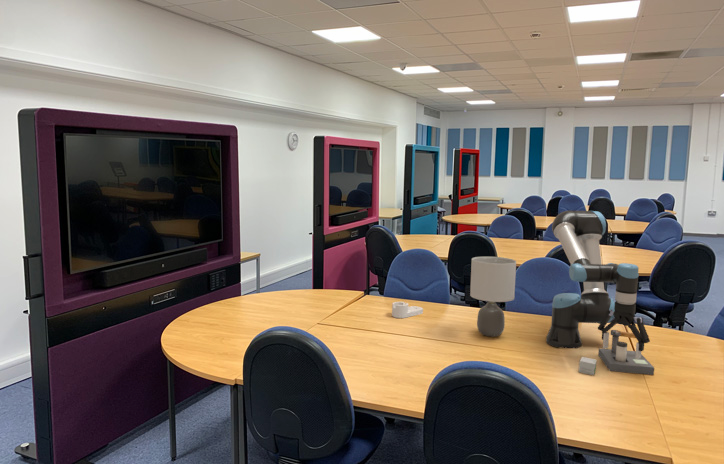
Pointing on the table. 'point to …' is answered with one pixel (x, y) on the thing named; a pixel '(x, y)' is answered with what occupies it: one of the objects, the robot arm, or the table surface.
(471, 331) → the table surface
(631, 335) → the clip
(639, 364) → the socket plate
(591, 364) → the small box
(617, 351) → the plug
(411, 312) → the bracket
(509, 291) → the lamp
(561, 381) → the table surface
